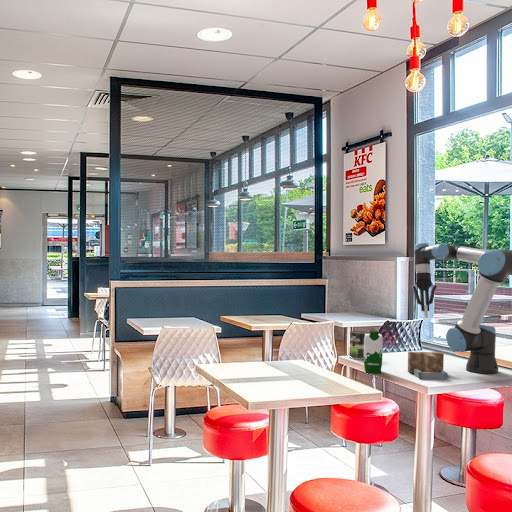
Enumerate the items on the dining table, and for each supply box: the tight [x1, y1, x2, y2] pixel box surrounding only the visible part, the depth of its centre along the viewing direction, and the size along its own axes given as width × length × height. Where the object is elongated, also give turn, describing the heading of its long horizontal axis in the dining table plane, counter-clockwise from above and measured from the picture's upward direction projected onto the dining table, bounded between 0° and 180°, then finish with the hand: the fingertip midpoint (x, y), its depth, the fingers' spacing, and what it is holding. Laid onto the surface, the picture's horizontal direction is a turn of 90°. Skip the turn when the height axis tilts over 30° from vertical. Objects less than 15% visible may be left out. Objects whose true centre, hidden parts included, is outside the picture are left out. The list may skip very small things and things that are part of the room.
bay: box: [413, 369, 448, 380], centre depth 286 cm, size 13×9×3 cm
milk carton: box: [363, 330, 384, 374], centre depth 296 cm, size 9×9×20 cm
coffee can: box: [349, 330, 370, 360], centre depth 335 cm, size 10×10×14 cm
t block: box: [407, 351, 445, 374], centre depth 292 cm, size 16×12×10 cm
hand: (425, 317), depth 320 cm, fingers closed
